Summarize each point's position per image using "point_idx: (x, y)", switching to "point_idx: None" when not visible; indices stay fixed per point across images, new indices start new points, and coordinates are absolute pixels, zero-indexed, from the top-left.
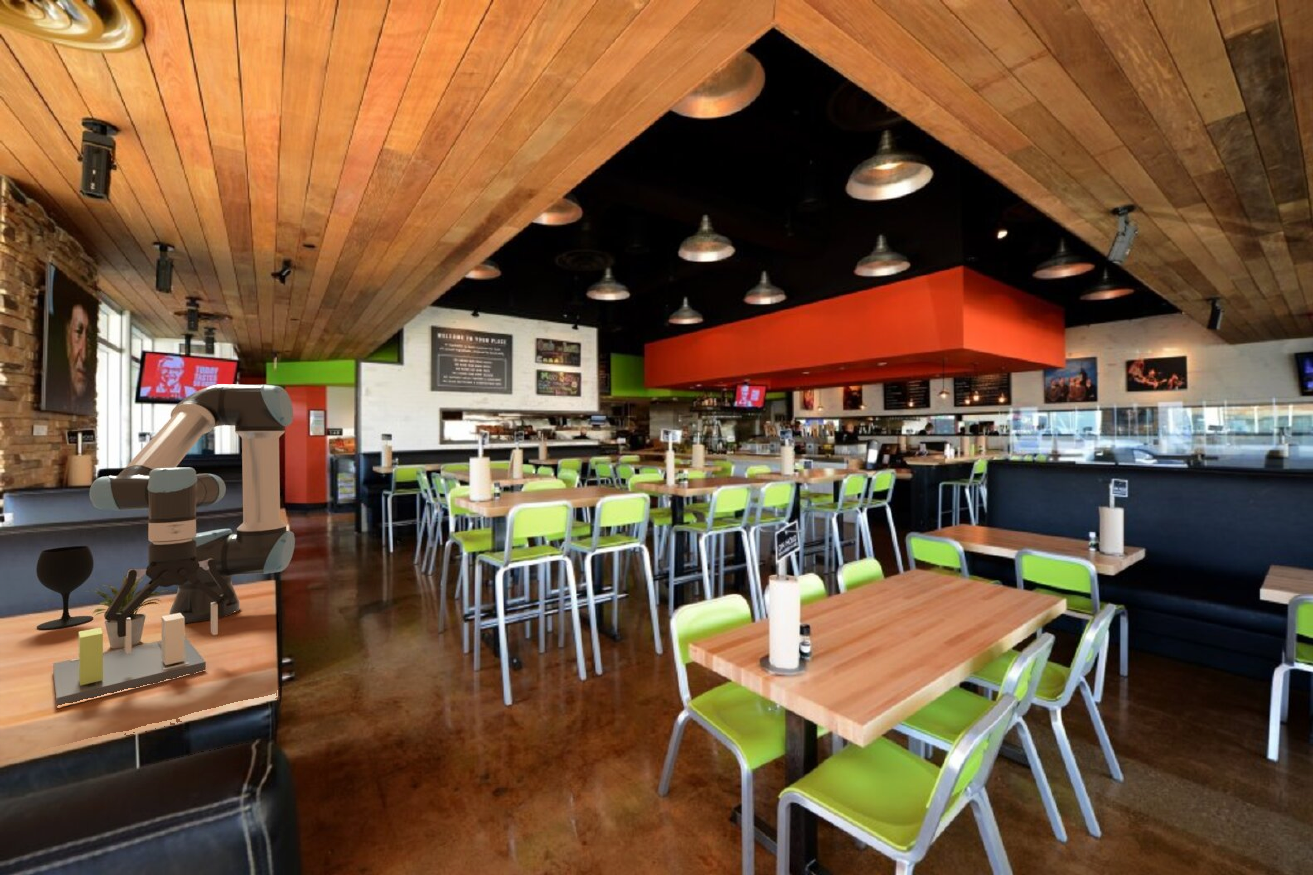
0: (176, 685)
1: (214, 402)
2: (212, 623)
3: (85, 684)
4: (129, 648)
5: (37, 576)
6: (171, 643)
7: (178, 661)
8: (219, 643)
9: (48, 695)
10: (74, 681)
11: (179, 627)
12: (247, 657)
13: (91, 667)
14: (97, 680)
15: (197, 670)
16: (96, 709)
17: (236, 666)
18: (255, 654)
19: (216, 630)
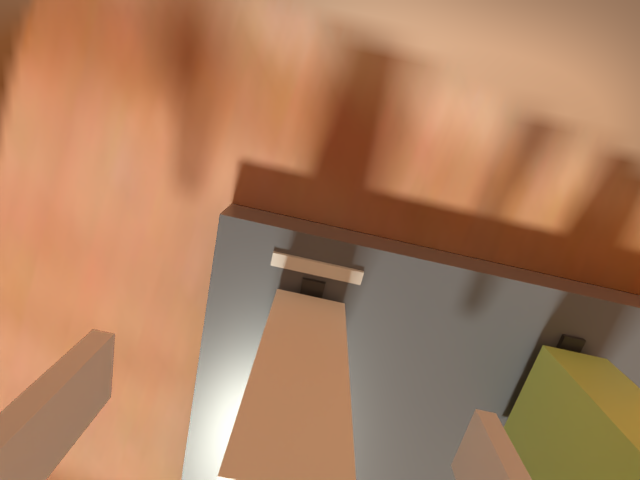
0: (360, 141)
1: None
2: (70, 402)
3: None
4: (493, 431)
5: None
6: (321, 356)
7: (299, 294)
8: (99, 464)
9: None
10: None
11: (269, 416)
12: (68, 213)
13: (622, 397)
14: (560, 350)
15: (257, 212)
16: (615, 160)
17: (132, 138)
18: (34, 219)
19: (84, 343)
